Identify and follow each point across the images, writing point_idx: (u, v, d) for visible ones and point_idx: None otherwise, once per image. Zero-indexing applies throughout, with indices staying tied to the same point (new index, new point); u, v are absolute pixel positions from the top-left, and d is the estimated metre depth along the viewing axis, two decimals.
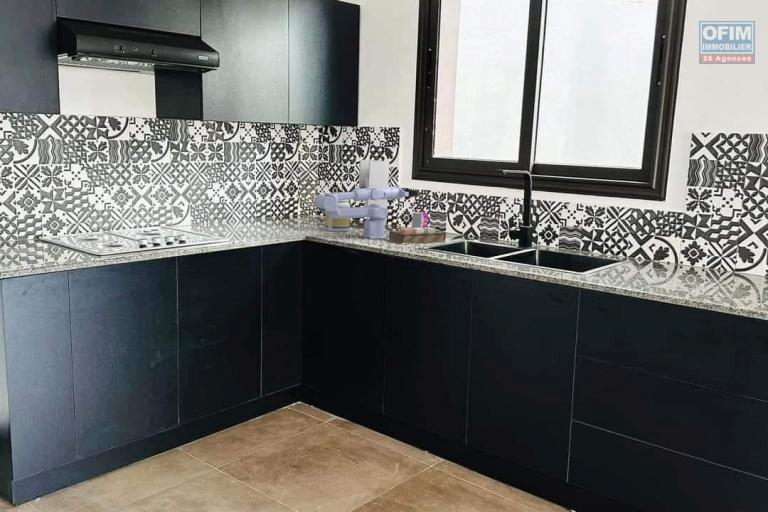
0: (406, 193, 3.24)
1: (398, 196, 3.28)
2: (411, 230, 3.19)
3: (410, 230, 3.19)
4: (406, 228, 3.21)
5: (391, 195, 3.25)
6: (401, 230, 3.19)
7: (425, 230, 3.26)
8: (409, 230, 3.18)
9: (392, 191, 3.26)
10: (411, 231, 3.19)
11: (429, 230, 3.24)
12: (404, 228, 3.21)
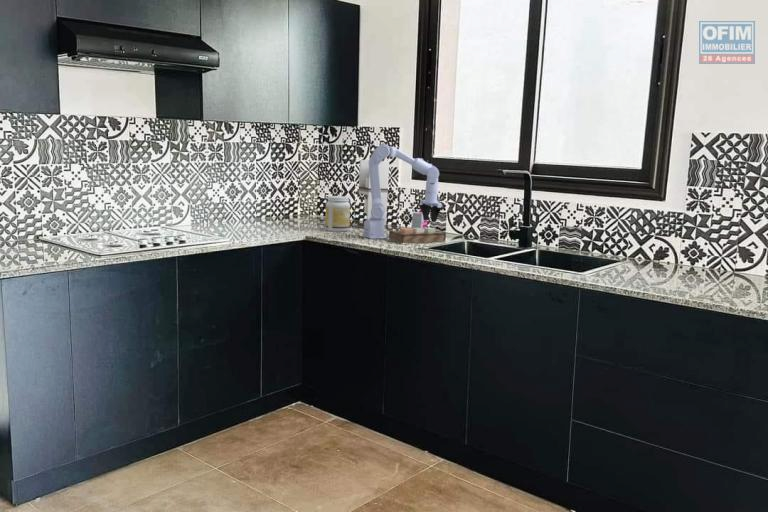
0: (440, 204, 3.19)
1: (431, 200, 3.22)
2: (411, 230, 3.19)
3: (410, 230, 3.19)
4: (406, 228, 3.21)
5: (430, 191, 3.21)
6: (401, 230, 3.19)
7: (425, 230, 3.26)
8: (409, 230, 3.18)
9: (436, 193, 3.22)
10: (411, 231, 3.19)
11: (429, 230, 3.24)
12: (404, 228, 3.21)
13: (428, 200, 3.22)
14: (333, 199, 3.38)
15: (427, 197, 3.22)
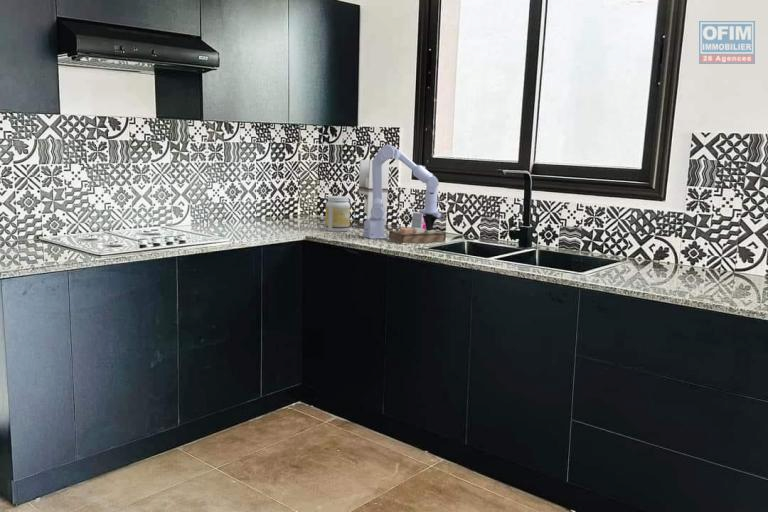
0: (439, 214, 3.20)
1: (431, 210, 3.22)
2: (411, 230, 3.19)
3: (410, 230, 3.19)
4: (406, 228, 3.21)
5: (429, 201, 3.22)
6: (401, 230, 3.19)
7: None
8: (409, 230, 3.18)
9: (435, 202, 3.23)
10: (411, 231, 3.19)
11: (429, 232, 3.24)
12: (404, 228, 3.21)
13: (427, 210, 3.23)
14: (333, 199, 3.38)
15: (426, 207, 3.23)
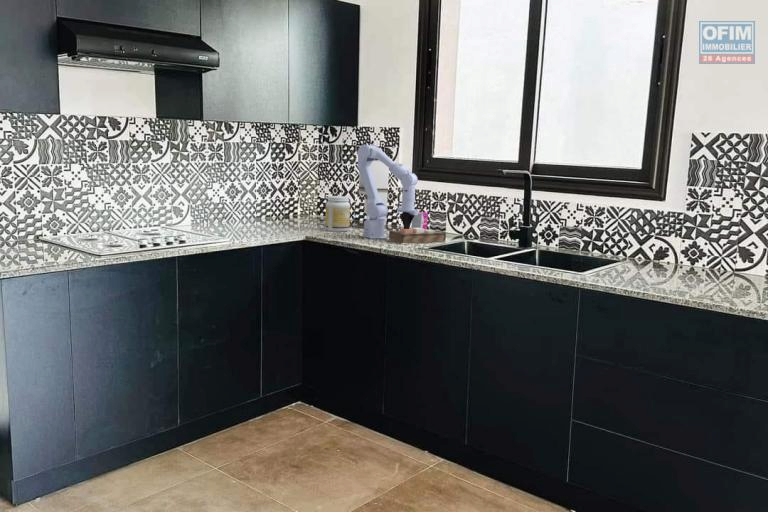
0: (417, 212, 3.12)
1: (408, 208, 3.15)
2: (411, 230, 3.19)
3: (410, 230, 3.19)
4: None
5: (404, 199, 3.15)
6: (401, 230, 3.19)
7: None
8: (409, 230, 3.18)
9: (413, 200, 3.16)
10: (411, 231, 3.19)
11: (429, 232, 3.24)
12: None
13: (404, 208, 3.16)
14: (333, 199, 3.38)
15: (403, 205, 3.16)
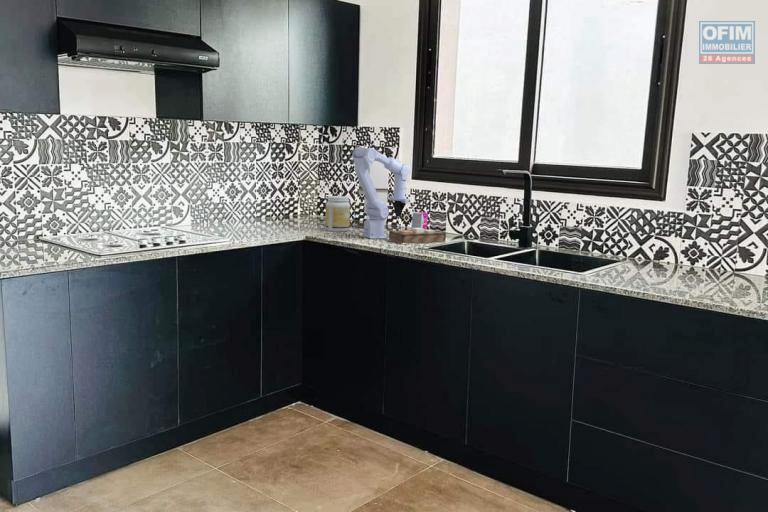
0: (407, 200, 3.29)
1: (399, 196, 3.32)
2: (411, 232, 3.19)
3: (410, 232, 3.19)
4: (406, 230, 3.21)
5: (402, 188, 3.32)
6: (401, 232, 3.20)
7: None
8: (409, 232, 3.18)
9: (404, 189, 3.33)
10: None
11: (429, 232, 3.24)
12: (404, 230, 3.21)
13: (396, 196, 3.32)
14: (333, 199, 3.38)
15: (395, 193, 3.33)
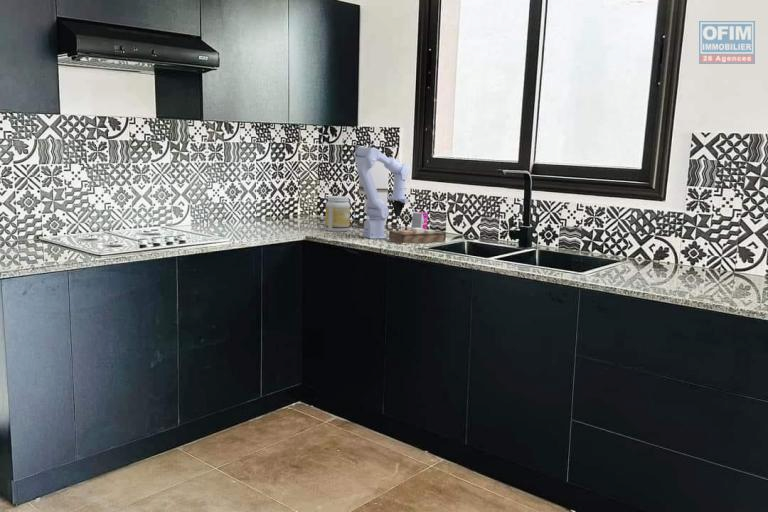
0: (407, 200, 3.30)
1: (399, 196, 3.33)
2: (411, 232, 3.19)
3: (410, 232, 3.19)
4: (406, 230, 3.21)
5: (402, 188, 3.33)
6: (401, 232, 3.20)
7: None
8: (409, 232, 3.18)
9: (403, 189, 3.34)
10: None
11: (429, 232, 3.24)
12: (404, 230, 3.21)
13: (396, 196, 3.33)
14: (333, 199, 3.38)
15: (395, 193, 3.34)
